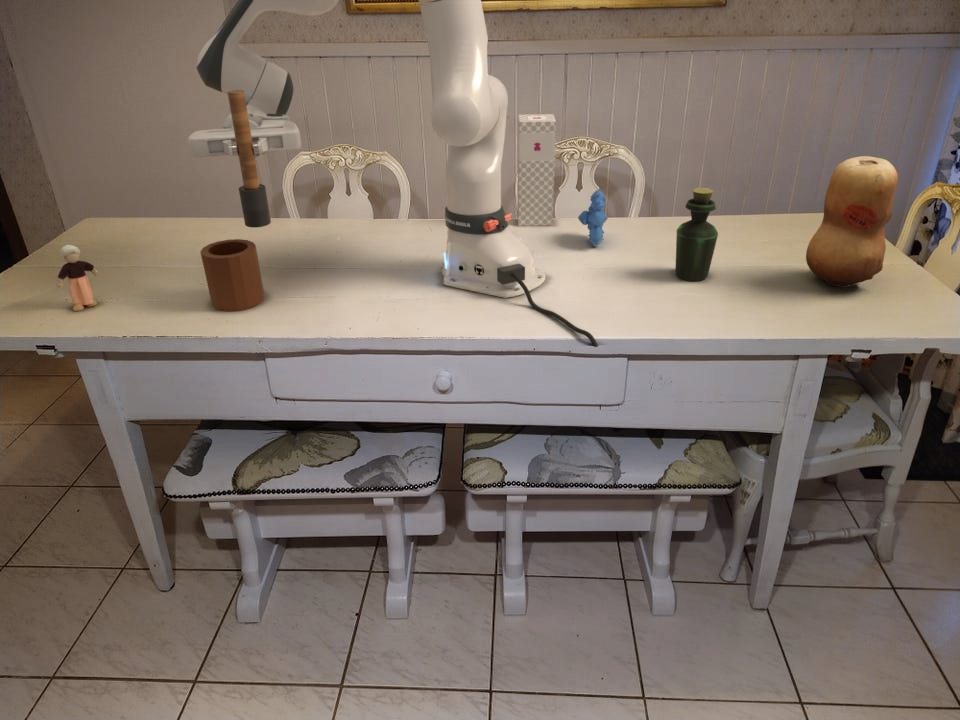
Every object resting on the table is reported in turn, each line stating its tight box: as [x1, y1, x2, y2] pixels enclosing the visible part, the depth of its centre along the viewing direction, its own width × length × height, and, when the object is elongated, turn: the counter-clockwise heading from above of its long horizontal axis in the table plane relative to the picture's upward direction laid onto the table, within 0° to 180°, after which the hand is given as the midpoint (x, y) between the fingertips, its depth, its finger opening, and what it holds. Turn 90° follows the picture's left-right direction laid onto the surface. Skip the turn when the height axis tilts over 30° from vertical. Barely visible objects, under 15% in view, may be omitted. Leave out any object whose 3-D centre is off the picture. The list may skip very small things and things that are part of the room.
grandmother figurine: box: [56, 244, 99, 312], centre depth 141 cm, size 8×4×13 cm, turn 148°
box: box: [516, 113, 557, 227], centre depth 178 cm, size 8×8×25 cm
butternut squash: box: [805, 155, 899, 288], centre depth 141 cm, size 14×13×25 cm
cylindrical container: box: [200, 238, 265, 312], centre depth 142 cm, size 10×10×11 cm
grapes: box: [577, 189, 608, 247], centre depth 167 cm, size 12×7×12 cm, turn 173°
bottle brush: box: [227, 90, 272, 228], centre depth 133 cm, size 5×5×24 cm
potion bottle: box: [675, 187, 719, 282], centre depth 147 cm, size 8×8×18 cm
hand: (245, 150), depth 132 cm, fingers closed on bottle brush, 3 cm apart
